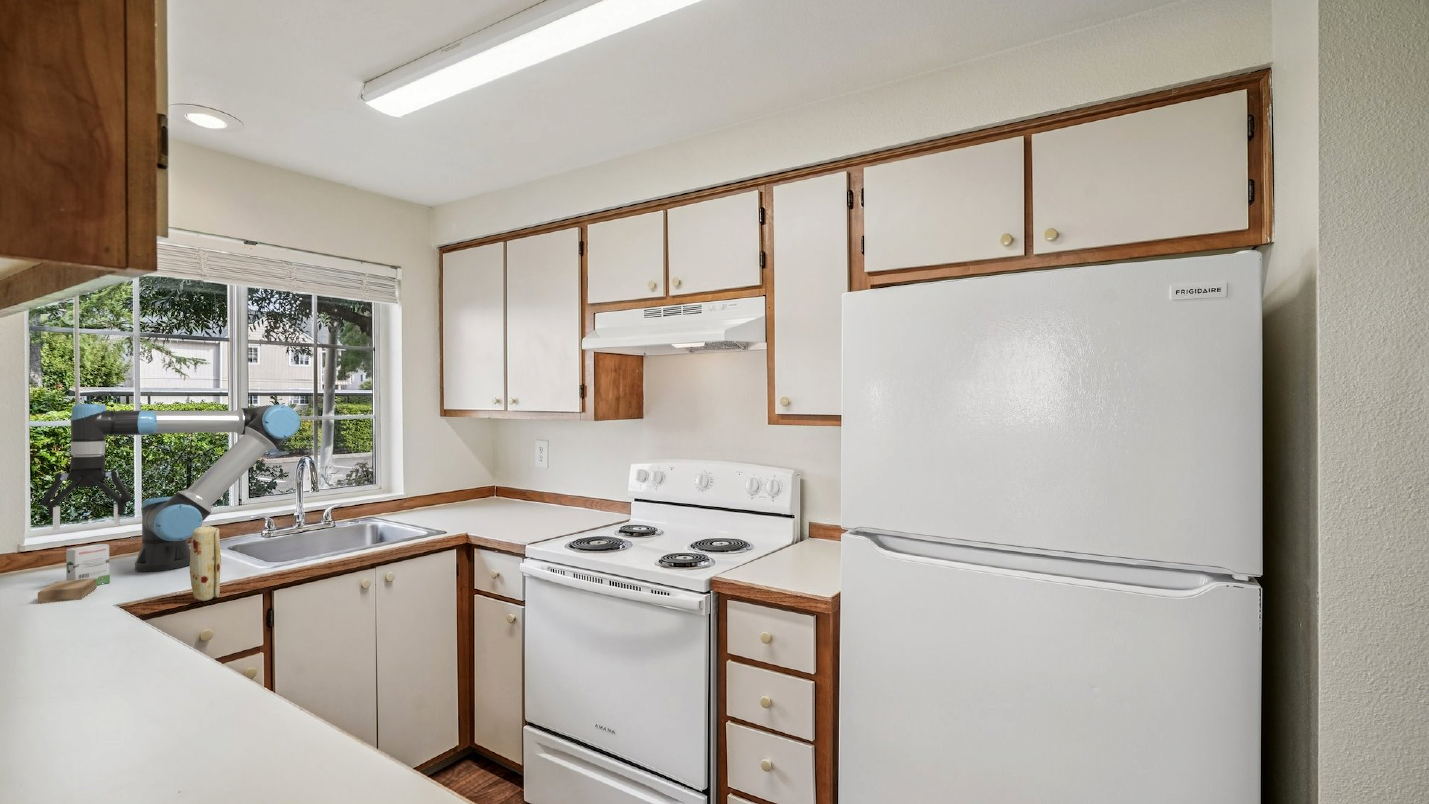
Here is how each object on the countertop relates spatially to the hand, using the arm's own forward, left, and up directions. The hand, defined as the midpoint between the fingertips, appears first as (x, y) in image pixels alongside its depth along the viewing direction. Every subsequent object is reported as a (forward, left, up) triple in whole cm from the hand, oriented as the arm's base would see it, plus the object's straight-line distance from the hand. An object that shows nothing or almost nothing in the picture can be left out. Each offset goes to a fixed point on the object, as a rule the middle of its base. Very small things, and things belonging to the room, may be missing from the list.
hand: (87, 527), depth 201 cm
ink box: (0, 0, -18) cm, 18 cm away
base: (+1, +12, -17) cm, 21 cm away
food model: (-34, +35, -18) cm, 52 cm away
